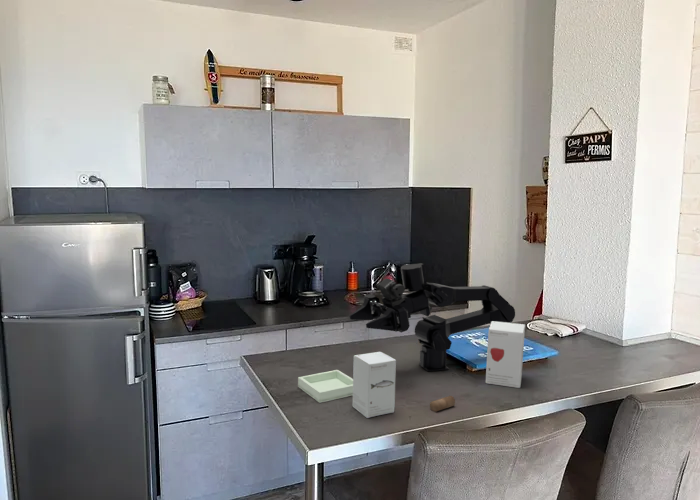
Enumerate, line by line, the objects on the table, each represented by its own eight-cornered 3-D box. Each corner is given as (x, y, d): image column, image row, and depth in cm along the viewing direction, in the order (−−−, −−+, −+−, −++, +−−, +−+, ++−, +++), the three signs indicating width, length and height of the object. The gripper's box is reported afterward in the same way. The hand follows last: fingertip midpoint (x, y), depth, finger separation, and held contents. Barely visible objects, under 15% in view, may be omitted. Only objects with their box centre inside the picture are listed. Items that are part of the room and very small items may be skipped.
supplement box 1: (367, 419, 119) (368, 364, 118) (351, 406, 126) (352, 354, 124) (395, 413, 123) (396, 359, 121) (378, 401, 129) (380, 350, 128)
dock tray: (337, 378, 144) (337, 369, 143) (360, 393, 134) (361, 383, 133) (298, 386, 137) (298, 377, 137) (319, 402, 128) (319, 392, 127)
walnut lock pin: (447, 403, 129) (448, 394, 128) (454, 407, 127) (455, 398, 126) (429, 409, 125) (430, 399, 125) (436, 413, 123) (437, 403, 123)
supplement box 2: (484, 383, 142) (487, 328, 140) (488, 372, 150) (490, 320, 148) (520, 388, 138) (523, 332, 137) (522, 377, 147) (525, 323, 145)
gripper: (385, 271, 153) (337, 285, 147) (423, 282, 137) (370, 299, 130) (391, 307, 156) (343, 324, 149) (429, 323, 139) (377, 342, 133)
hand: (357, 321), depth 140 cm, fingers open, 9 cm apart
